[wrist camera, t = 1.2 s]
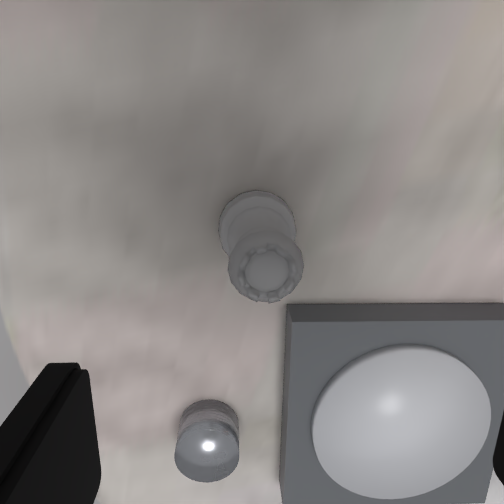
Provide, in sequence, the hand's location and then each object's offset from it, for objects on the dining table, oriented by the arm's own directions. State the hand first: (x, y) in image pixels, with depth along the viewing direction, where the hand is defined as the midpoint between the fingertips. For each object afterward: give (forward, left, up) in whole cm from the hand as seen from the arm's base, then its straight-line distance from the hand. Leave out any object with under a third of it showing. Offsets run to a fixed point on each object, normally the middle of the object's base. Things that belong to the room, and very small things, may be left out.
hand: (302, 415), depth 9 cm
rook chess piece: (0, 0, -16) cm, 17 cm away
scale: (+12, +9, -16) cm, 22 cm away
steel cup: (+14, -3, -16) cm, 22 cm away
